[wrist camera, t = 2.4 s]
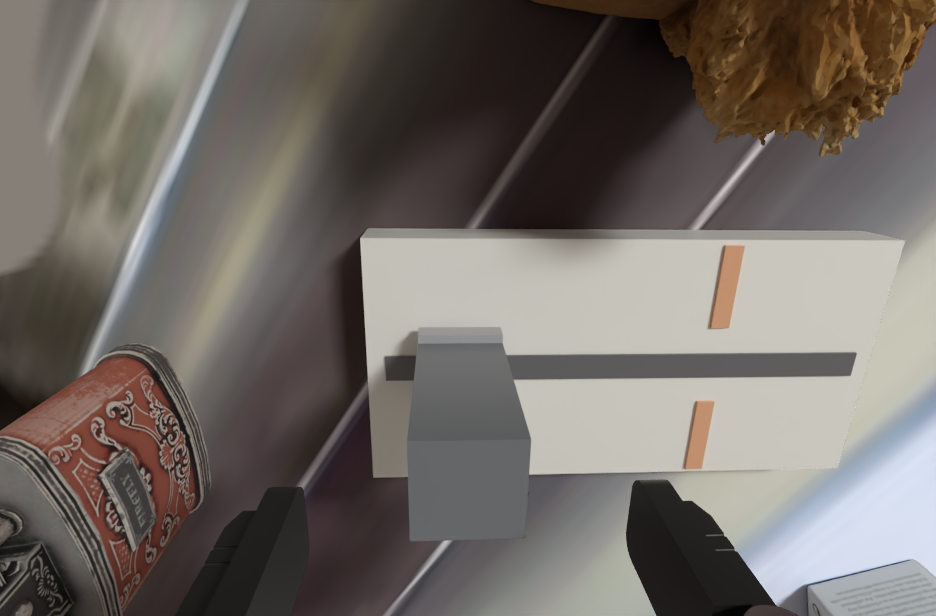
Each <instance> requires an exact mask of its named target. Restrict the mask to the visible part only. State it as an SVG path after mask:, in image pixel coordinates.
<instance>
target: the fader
mask: <svg viewBox="0 0 936 616" xmlns="http://www.w3.org/2000/svg"><path fill="white" fill-rule="evenodd" d="M530 452H531V437H530V433H529V430H528V427H527V423H526V420H525V416H524V413H523V410H522V406H521V403H520V400H519V396H518V393H517V390H516V386H515V383H514V380H513V376H512V373H511V369H510V366H509V363H508V359H507V356H506V353H505V349H504V346H503V334H502V330H501V327H419V328H418V346H417V355H416V364H415V373H414V382H413V391H412V400H411V409H410V418H409V427H408V436H407V461H408V496H409V530H410V541H441V540H478V539H514V538H525V531H526V515H527V499H528V483H529V468H530Z"/></svg>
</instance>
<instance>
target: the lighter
mask: <svg viewBox="0 0 936 616" xmlns="http://www.w3.org/2000/svg"><path fill="white" fill-rule="evenodd" d="M210 487H211V477H210V469H209V460H208V453H207V449H206V445H205V442H204V438H203V434H202V430H201V426H200V423H199V420H198V418H197V416H196V413H195V411H194V409H193V406H192V404H191V402H190V399H189V397H188V395H187V393H186V390H185V389H184V387H183V385H182V383H181V382H180V380H179V378H178V377H177V375H176V373H175V371H174V370H173V368H172V366H171V365H170V363H169V361H168V359H167V358H166V357H165V356H164V355H163V354H162V353H161V352H160V351H158V350H157V349H155V348H153V347H152V346H148V345H145V344H141V343H128V344H124V345H121V346H118V347H117V348H115V349H113V350H112V351H110V352H109V353H107V354H106V355H104V356H103V357H102V358H100V359H99V360H97V362H96V363H95V365H94V367H93V368H92V370H90V371H89V372H87V373H86V374H84V375H83V376H81V377H80V378H78V379H77V380H76V381H74V382H73V383H71V384H70V385H68V386H67V387H65V388H64V389H62V390H61V391H59V392H58V393H56V394H55V395H53V396H52V397H50V398H49V399H47V400H46V401H44V402H43V403H41V404H40V405H38V406H37V407H35V408H34V409H32V410H31V411H29V412H28V413H26V414H25V415H23V416H22V417H20V418H19V419H17V420H16V421H14V422H13V423H11V424H10V425H8V426H7V427H5V428H4V429H2V430H1V431H0V616H123V612H124V611H125V609H126V608H127V606H128V605H129V603H130V602H131V600H132V599H133V597H134V596H135V594H136V593H137V591H138V590H139V588H140V587H141V585H142V584H143V582H144V581H145V579H146V578H147V576H148V575H149V573H150V572H151V570H152V569H153V567H154V566H155V564H156V563H157V561H158V560H159V558H160V557H161V555H162V554H163V552H164V551H165V549H166V548H167V546H168V545H169V543H170V542H171V540H172V539H173V537H174V536H175V534H176V533H177V531H178V530H179V528H180V527H181V525H182V524H183V522H184V521H185V519H186V518H187V516H188V515H189V514H190V513H192V512H193V511H195V510H197V509H198V507H199V506H200V504H201V503H202V501H203V500H204V498H205V497H206V495H207V494H208V492H209V491H210Z"/></svg>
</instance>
